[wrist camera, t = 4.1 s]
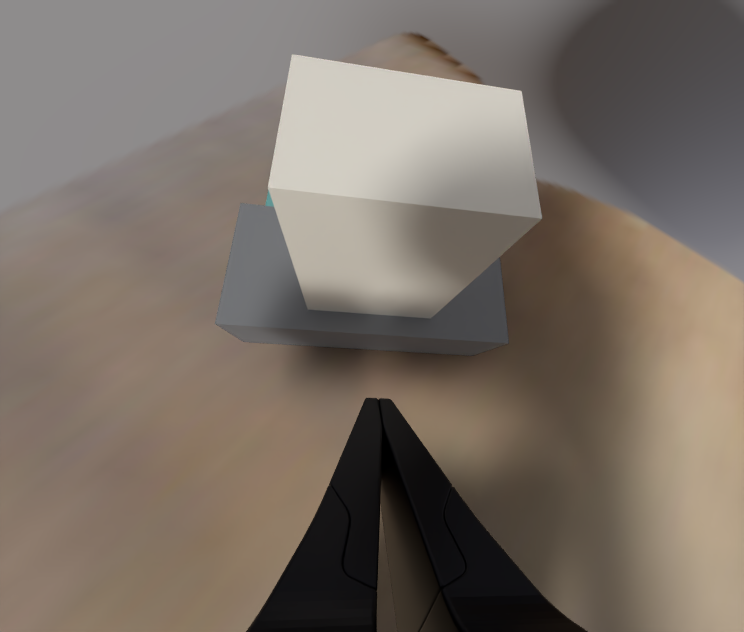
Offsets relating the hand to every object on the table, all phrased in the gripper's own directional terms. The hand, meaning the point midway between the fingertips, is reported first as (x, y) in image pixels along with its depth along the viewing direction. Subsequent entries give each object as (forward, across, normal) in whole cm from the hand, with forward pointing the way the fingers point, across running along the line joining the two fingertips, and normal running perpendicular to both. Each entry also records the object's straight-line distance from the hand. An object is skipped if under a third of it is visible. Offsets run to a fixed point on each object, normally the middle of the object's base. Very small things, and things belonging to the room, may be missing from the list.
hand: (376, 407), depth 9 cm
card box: (+7, 0, -2) cm, 7 cm away
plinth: (+10, 0, 0) cm, 10 cm away
